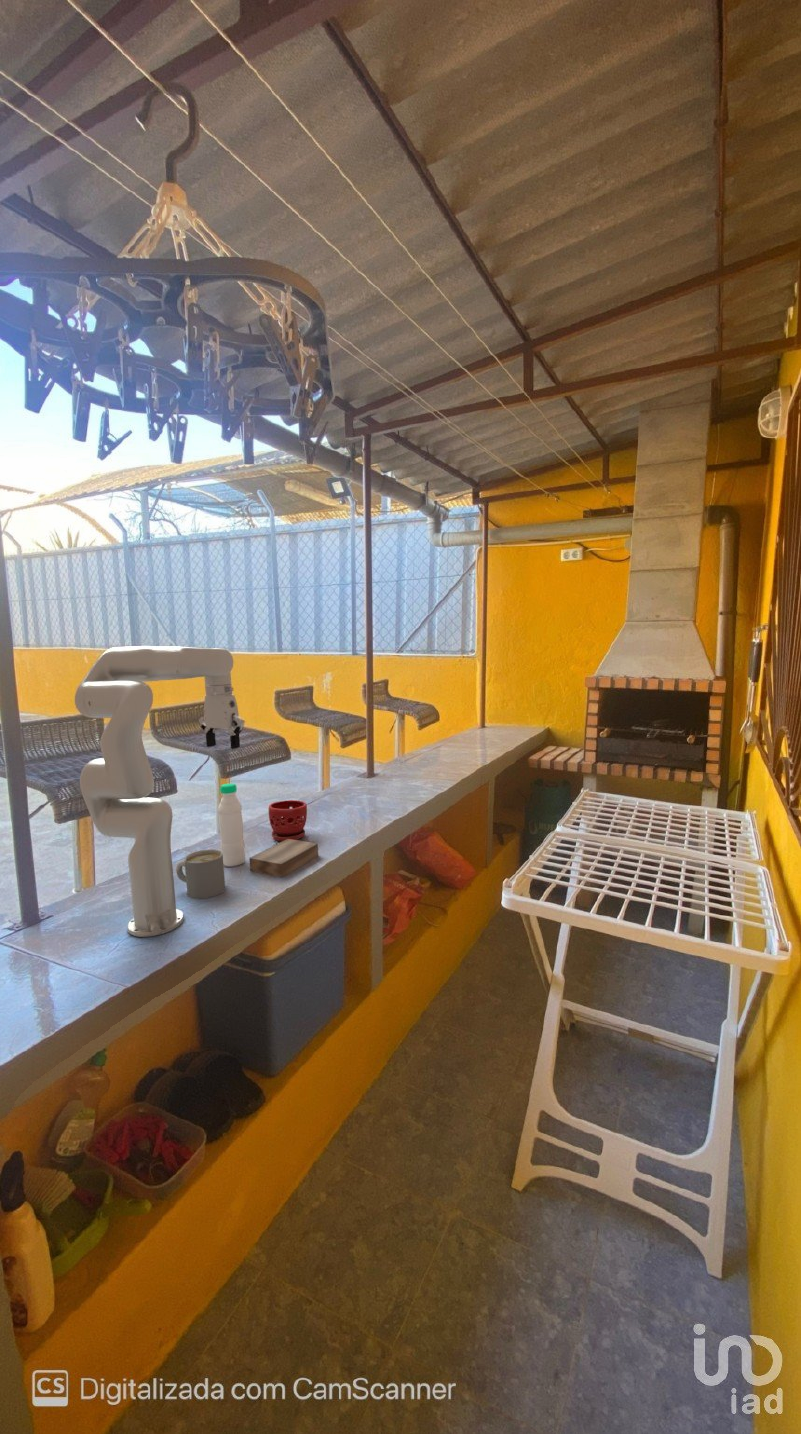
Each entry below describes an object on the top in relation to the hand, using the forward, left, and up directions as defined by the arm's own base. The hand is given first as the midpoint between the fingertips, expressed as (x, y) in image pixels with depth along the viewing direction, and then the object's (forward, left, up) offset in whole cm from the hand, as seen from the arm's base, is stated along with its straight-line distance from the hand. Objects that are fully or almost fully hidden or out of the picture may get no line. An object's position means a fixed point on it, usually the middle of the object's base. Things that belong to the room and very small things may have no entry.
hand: (223, 747), depth 169 cm
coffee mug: (-14, +12, -37) cm, 41 cm away
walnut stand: (-10, -14, -37) cm, 40 cm away
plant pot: (+12, -24, -37) cm, 45 cm away
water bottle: (0, -1, -37) cm, 37 cm away
